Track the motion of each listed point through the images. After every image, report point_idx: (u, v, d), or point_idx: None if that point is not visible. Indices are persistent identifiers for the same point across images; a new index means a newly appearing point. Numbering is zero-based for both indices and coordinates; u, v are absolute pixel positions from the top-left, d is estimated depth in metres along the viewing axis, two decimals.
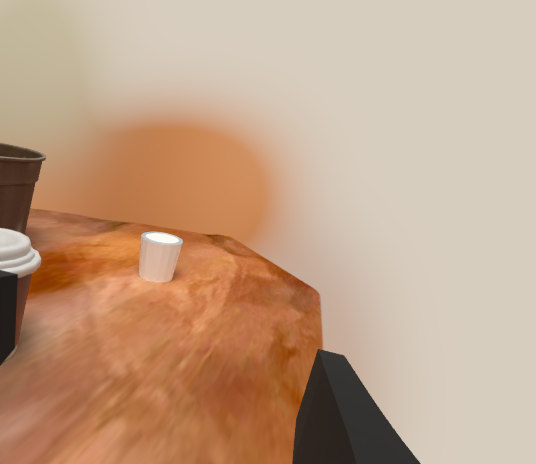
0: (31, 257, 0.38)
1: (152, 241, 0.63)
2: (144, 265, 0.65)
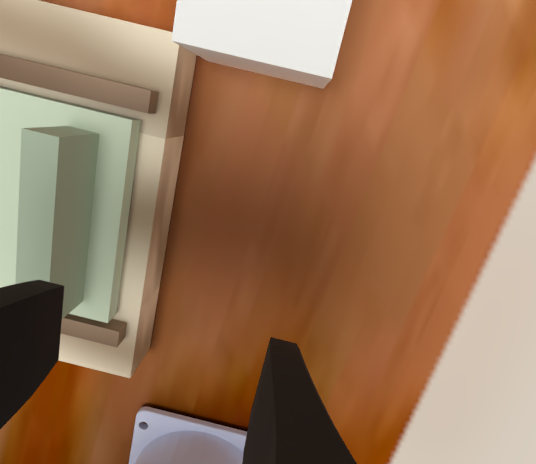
0: None
1: None
2: None
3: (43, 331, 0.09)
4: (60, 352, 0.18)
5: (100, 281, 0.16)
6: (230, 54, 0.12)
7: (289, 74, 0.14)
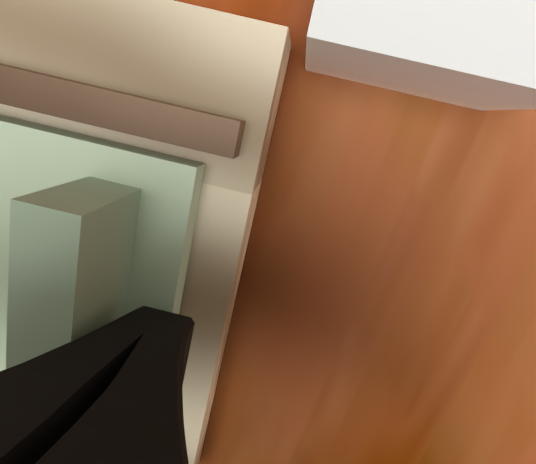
0: None
1: None
2: None
3: None
4: None
5: None
6: (417, 61, 0.06)
7: (478, 93, 0.08)
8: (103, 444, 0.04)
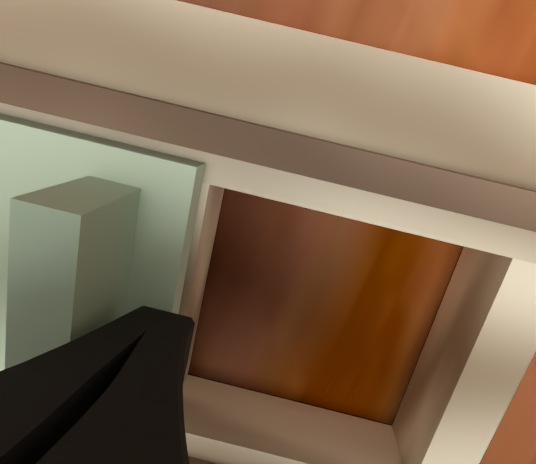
0: None
1: None
2: None
3: None
4: None
5: None
6: None
7: None
8: (104, 444, 0.04)
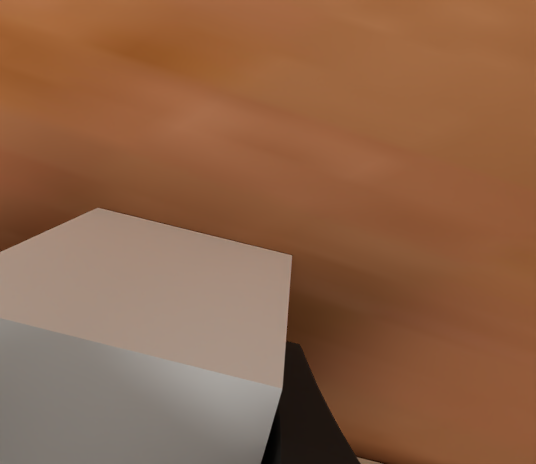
0: None
1: None
2: None
3: None
4: None
5: None
6: None
7: None
8: None
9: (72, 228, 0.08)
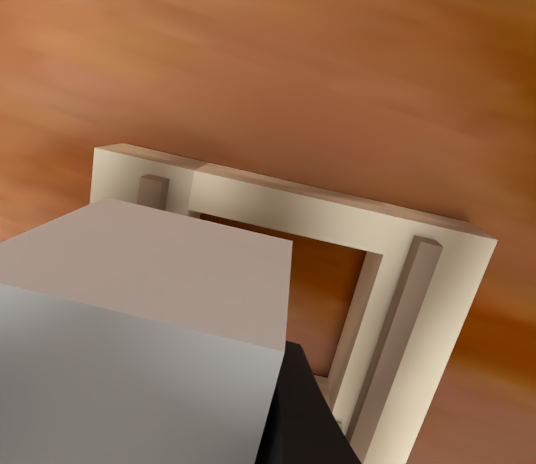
0: None
1: None
2: None
3: None
4: (452, 319, 0.15)
5: None
6: None
7: None
8: None
9: (83, 215, 0.09)
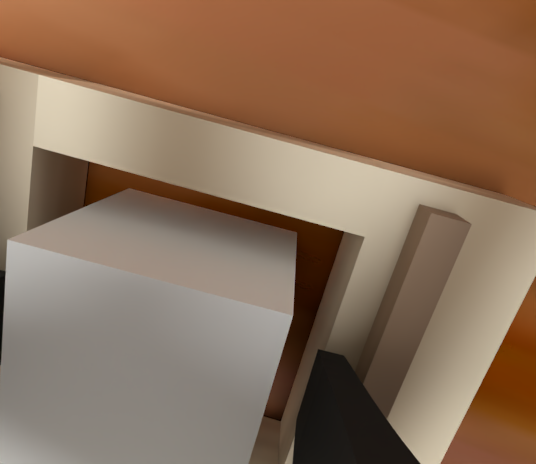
0: None
1: None
2: None
3: None
4: (475, 351, 0.09)
5: None
6: (249, 454, 0.08)
7: None
8: None
9: (114, 202, 0.10)
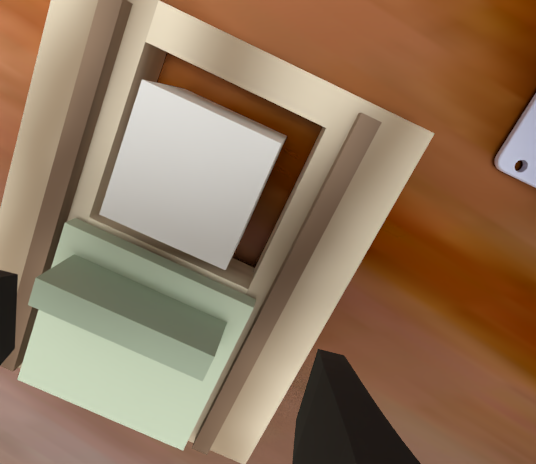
0: None
1: None
2: None
3: None
4: (378, 208, 0.16)
5: (209, 299, 0.17)
6: (244, 226, 0.14)
7: None
8: None
9: (180, 89, 0.16)
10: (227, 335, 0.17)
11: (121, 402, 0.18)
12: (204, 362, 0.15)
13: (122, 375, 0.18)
